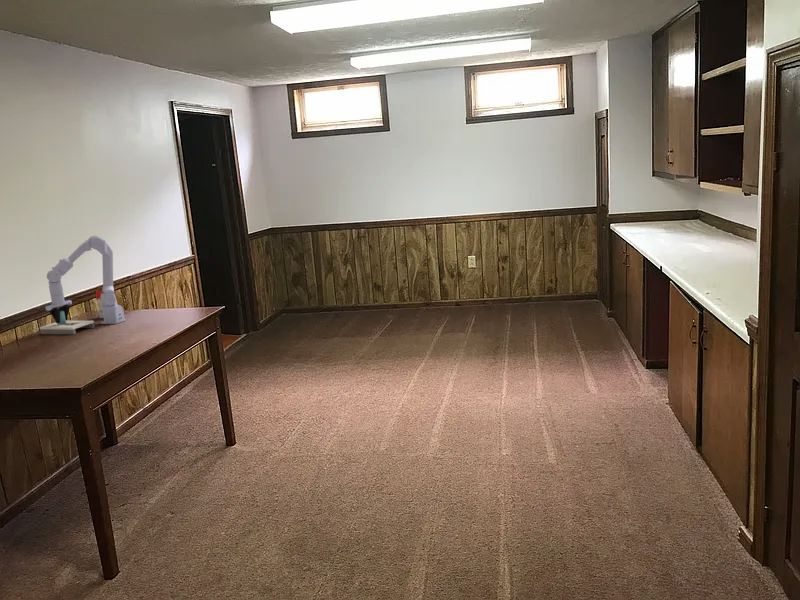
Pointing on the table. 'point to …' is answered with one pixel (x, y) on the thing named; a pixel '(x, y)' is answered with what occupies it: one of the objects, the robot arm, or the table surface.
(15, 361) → the table surface
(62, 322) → the peg
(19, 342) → the table surface
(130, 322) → the table surface
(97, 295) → the ink box
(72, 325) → the board
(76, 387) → the table surface
